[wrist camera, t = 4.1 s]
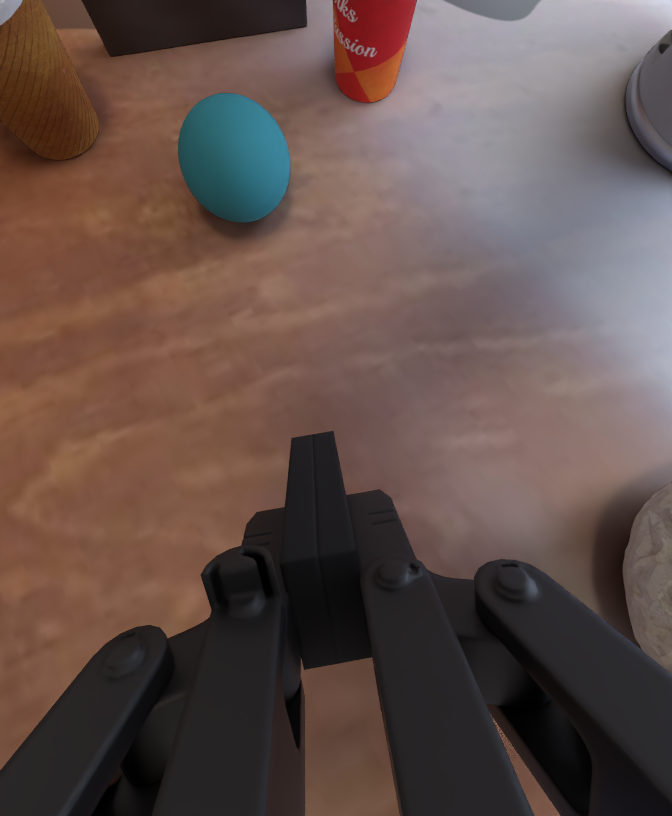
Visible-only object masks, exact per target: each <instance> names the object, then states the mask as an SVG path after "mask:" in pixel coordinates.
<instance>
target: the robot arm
mask: <svg viewBox="0 0 672 816" xmlns="http://www.w3.org/2000/svg"><path fill="white" fill-rule="evenodd" d="M626 110H627V115H628V119H629V122H630V125H631V127H632V129H633V131H634V134H635V135H636V137H637V139H638V140H639V142H640V143H641V144H642V146H643V147H644V148H645V149H646V151H647V152H648V153H649V154H650V155H651V156H652V157H653V158H654V159H655V160H657V161H658V162H659V163H660V164H661V165H663V166H664V167H666V168H667V169H669V170H670V171H672V30H670V31H669V32H668V33H667V34H666V35H665V36H663V37H662V38H661V39H660V40H659V41H658V42H657V43H656V44H655V45H654V46H653V47H652V48H651V50H650V51H649V52H648V53H647V55H646V56H645V57H644V58H643V60H642V61H641V62H640V64H639V65H638V66H637V67H636V69H635V70H634V72H633V74H632V76H631V78H630V80H629V83H628V86H627V91H626ZM201 577H202V581H203V584H204V587H205V590H206V593H207V596H208V600H209V603H210V606H211V609H212V611H211V615H210V617H209V618H208V619H207V620H205V621H204V622H202V623H200V624H198V625H197V626H195V627H193V628H191V629H188V630H186V631H184V632H182V633H179V634H177V635H175V636H172V637H170V638H168V639H167V637H166V634H165V633H164V632H163V631H162V630H161V628H159V627H155V626H151V625H146V626H140V627H135V628H133V629H130V630H128V631H125V632H123V633H121V634H119V635H118V636H116V637H115V638H113V639H112V640H110V641H109V642H107V643H106V644H105V645H104V646H103V647H102V648H101V649H100V650H99V651H98V652H97V653H96V654H95V655H94V656H93V657H92V658H91V659H90V661H89V662H88V663H87V664H86V666H85V667H84V668H83V669H82V671H81V672H80V673H79V674H78V675H77V677H76V678H75V679H74V680H73V682H72V683H71V684H70V685H69V687H68V688H67V689H66V690H65V691H64V693H63V694H62V695H61V696H60V698H59V699H58V700H57V701H56V703H55V704H54V705H53V706H52V708H51V709H50V710H49V711H48V712H47V714H46V715H45V716H44V717H43V719H42V720H41V721H40V722H39V724H38V725H37V726H36V727H35V728H34V730H33V731H32V732H31V733H30V735H29V736H28V737H27V738H26V740H25V741H24V742H23V743H22V744H21V746H20V747H19V748H18V749H17V751H16V752H15V753H14V754H13V756H12V757H11V758H10V759H9V761H8V762H7V763H6V764H5V765H4V767H3V768H2V769H1V770H0V816H305V695H304V690H303V685H302V681H301V658H302V662H303V667H304V670H306V669H311V668H316V667H322V666H327V665H333V664H338V663H343V662H349V661H354V660H359V659H365V658H370V657H372V659H373V664H374V671H375V677H376V683H377V689H378V695H379V702H380V708H381V711H382V717H383V722H384V728H385V734H386V739H387V745H388V751H389V756H390V762H391V768H392V773H393V779H394V784H395V790H396V796H397V801H398V807H399V813H400V816H534V814H533V812H532V810H531V807H530V805H529V803H528V800H527V798H526V796H525V793H524V791H523V789H522V786H521V784H520V782H519V780H518V777H517V775H516V773H515V770H514V768H513V766H512V763H511V761H510V759H509V756H508V754H507V752H506V750H505V747H504V745H503V743H502V740H501V738H500V736H499V733H498V731H497V729H496V726H495V724H494V722H493V720H492V717H493V718H494V719H495V721H496V722H497V724H498V725H499V727H500V728H501V730H502V731H503V733H504V734H505V735H506V737H507V738H508V740H509V741H510V743H511V744H512V746H513V747H514V748H515V750H516V751H517V753H518V754H519V756H520V757H521V759H522V760H523V761H524V763H525V764H526V766H527V767H528V769H529V770H530V772H531V773H532V775H533V776H534V777H535V779H536V780H537V782H538V783H539V785H540V786H541V788H542V789H543V790H544V792H545V793H546V795H547V796H548V798H549V799H550V801H551V802H552V804H553V805H554V806H555V808H556V809H557V811H558V812H559V814H560V815H561V816H672V674H671V673H670V672H669V671H667V670H666V669H665V668H664V667H662V666H661V665H660V664H658V663H657V662H656V661H655V660H653V659H652V658H651V657H650V656H648V655H647V654H646V653H645V652H643V651H642V650H641V649H640V648H638V647H637V646H636V645H635V644H633V643H632V642H631V641H630V640H628V639H627V638H626V637H625V636H623V635H622V634H621V633H619V632H618V631H617V630H616V629H614V628H613V627H612V626H611V625H609V624H608V623H607V622H606V621H604V620H603V619H602V618H601V617H599V616H598V615H597V614H596V613H594V612H593V611H592V610H591V609H589V608H588V607H587V606H585V605H584V604H583V603H582V602H580V601H579V600H578V599H577V598H575V597H574V596H573V595H572V594H570V593H569V592H568V591H567V590H565V589H564V588H563V587H562V586H560V585H559V584H558V583H557V582H555V581H554V580H553V579H552V578H550V577H549V576H548V575H546V574H545V573H544V572H542V571H541V570H539V569H537V568H536V567H534V566H532V565H530V564H527V563H524V562H520V561H517V560H505V559H500V560H495V561H491V562H488V563H486V564H484V565H483V566H481V567H480V568H479V569H478V571H477V572H476V574H475V576H474V580H469V579H456V578H449V577H443V576H440V575H437V574H434V573H432V572H430V571H429V570H427V569H426V567H425V566H424V565H423V563H422V562H420V561H419V560H417V559H416V557H415V555H414V553H413V550H412V548H411V545H410V543H409V540H408V538H407V536H406V533H405V531H404V528H403V526H402V523H401V521H400V520H399V516H398V514H397V511H396V509H395V507H394V504H393V502H392V499H391V497H389V496H388V495H387V494H385V493H384V492H383V491H381V490H380V489H379V490H373V491H368V492H362V493H356V494H350V495H346V493H345V488H344V483H343V478H342V473H341V468H340V462H339V457H338V452H337V447H336V442H335V437H334V432H333V431H330V432H324V433H318V434H312V435H306V436H300V437H295V438H292V440H291V450H290V460H289V470H288V481H287V491H286V501H285V507H283V508H277V509H272V510H266V511H260V512H256V514H255V515H254V516H253V517H252V518H251V520H250V521H249V522H248V523H247V525H246V529H245V533H244V539H243V541H242V545H241V546H239V547H235V548H232V549H229V550H227V551H225V552H223V553H221V554H220V555H218V556H216V557H215V558H214V559H213V560H212V561H211V562H209V563H208V564H207V565H206V567H205V568H204V570H203V572H202V573H201ZM489 712H490V713H489ZM490 714H491V715H492V717H491V715H490Z"/></svg>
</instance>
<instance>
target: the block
mask: <svg viewBox="0 0 672 816" xmlns="http://www.w3.org/2000/svg"><path fill="white" fill-rule="evenodd" d="M82 2H83V4H84V6H85V8H86V10H87V12H88V14H89V16H90V18H91V20H92V22H93V24H94V26H95V28H96V30H97V32H98V33H99V35H100V37H101V39H102V41H103V43H104V45H105V47H106V49H107V51H108V53H109V55H110V56H117V55H124V54H130V53H137V52H143V51H150V50H156V49H163V48H169V47H176V46H182V45H189V44H195V43H201V42H208V41H214V40H221V39H227V38H234V37H240V36H247V35H253V34H260V33H266V32H273V31H279V30H285V29H292V28H298V27H305V26H307V14H306V0H82Z"/></svg>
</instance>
